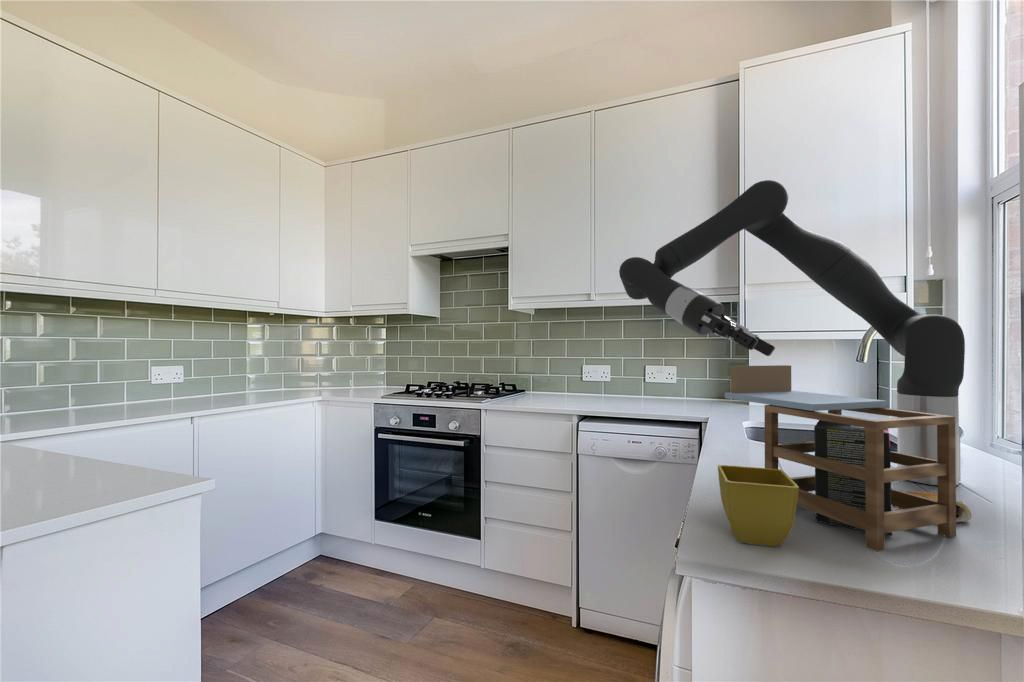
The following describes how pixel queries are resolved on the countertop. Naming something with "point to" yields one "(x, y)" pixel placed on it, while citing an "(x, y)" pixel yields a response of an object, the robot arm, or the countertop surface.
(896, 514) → the crate
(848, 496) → the tampon box
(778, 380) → the lid
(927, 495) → the pastry
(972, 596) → the countertop surface
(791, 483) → the flower pot
